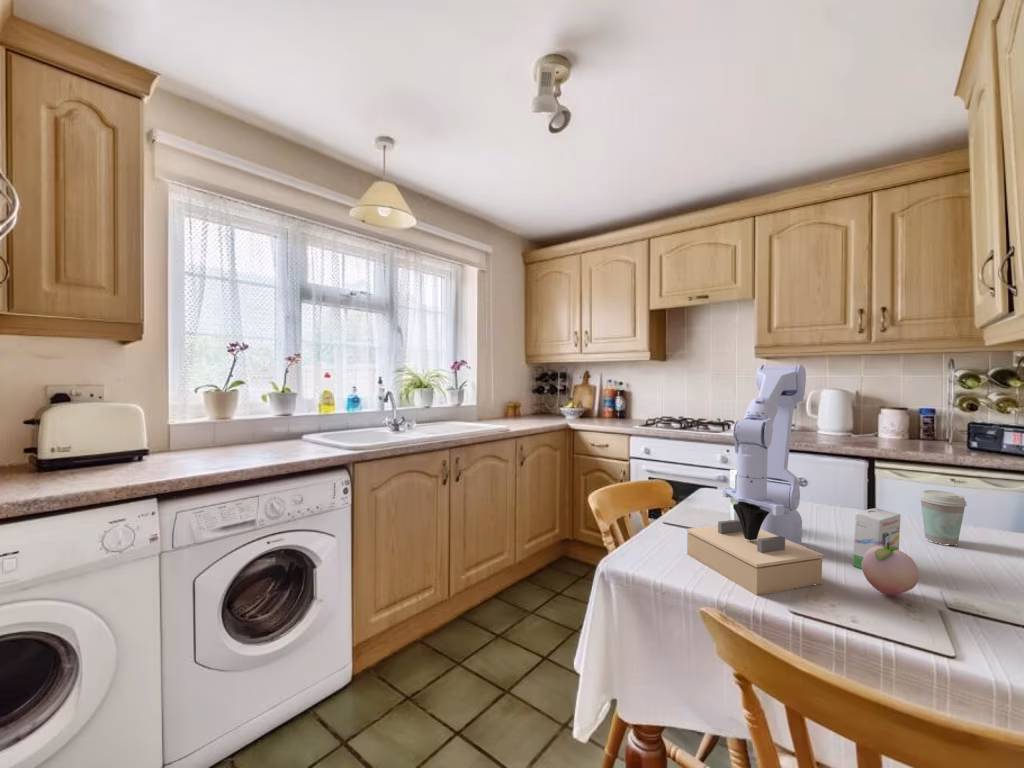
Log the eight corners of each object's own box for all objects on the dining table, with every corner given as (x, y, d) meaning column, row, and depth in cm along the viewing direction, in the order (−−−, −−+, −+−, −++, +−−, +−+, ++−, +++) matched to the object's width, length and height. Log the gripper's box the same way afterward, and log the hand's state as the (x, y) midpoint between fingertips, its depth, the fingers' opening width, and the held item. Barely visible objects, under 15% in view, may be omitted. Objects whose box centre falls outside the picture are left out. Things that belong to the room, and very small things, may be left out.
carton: (743, 546, 109) (743, 526, 109) (821, 584, 90) (822, 559, 89) (687, 554, 104) (687, 532, 104) (756, 595, 85) (757, 569, 85)
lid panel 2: (780, 539, 99) (780, 525, 99) (823, 557, 90) (823, 542, 89) (718, 547, 94) (718, 533, 94) (756, 567, 85) (756, 551, 85)
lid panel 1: (744, 524, 109) (744, 512, 109) (780, 539, 99) (780, 525, 99) (686, 531, 104) (686, 518, 104) (718, 547, 94) (718, 533, 94)
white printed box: (757, 527, 122) (758, 474, 122) (734, 525, 124) (734, 473, 123) (750, 520, 128) (751, 469, 128) (728, 519, 129) (729, 468, 129)
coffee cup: (927, 545, 110) (929, 496, 110) (912, 533, 118) (913, 488, 118) (973, 550, 107) (975, 500, 106) (954, 538, 115) (955, 491, 114)
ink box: (872, 558, 102) (873, 506, 102) (900, 567, 98) (901, 513, 97) (851, 566, 98) (852, 512, 98) (879, 575, 94) (881, 519, 93)
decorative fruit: (917, 613, 79) (919, 556, 79) (858, 597, 85) (860, 544, 84) (918, 594, 86) (920, 541, 86) (864, 580, 91) (865, 531, 91)
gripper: (712, 469, 102) (711, 529, 102) (764, 485, 88) (763, 553, 88) (737, 467, 104) (736, 526, 104) (792, 482, 90) (791, 550, 90)
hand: (750, 538), depth 97 cm, fingers closed
